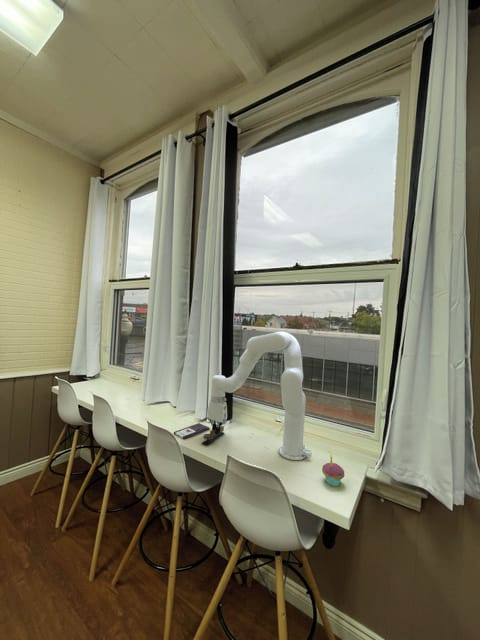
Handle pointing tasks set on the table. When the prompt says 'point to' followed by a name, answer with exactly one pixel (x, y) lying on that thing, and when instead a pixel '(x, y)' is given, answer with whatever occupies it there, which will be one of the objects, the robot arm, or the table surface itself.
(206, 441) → the black remote control
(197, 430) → the chocolate bar
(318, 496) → the table surface
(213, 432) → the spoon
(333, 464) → the cupcake
